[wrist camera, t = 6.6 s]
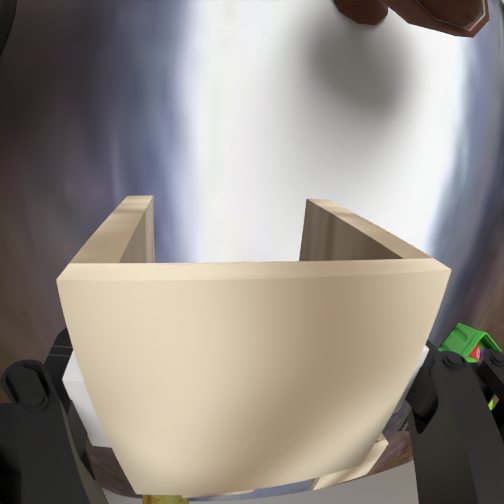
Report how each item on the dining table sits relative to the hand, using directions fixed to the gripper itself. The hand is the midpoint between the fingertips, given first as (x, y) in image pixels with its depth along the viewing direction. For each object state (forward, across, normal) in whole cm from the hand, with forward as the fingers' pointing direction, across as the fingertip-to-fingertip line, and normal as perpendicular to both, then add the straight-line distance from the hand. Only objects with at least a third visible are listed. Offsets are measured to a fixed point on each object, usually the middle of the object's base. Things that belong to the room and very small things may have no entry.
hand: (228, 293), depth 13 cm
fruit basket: (+11, +34, -17) cm, 40 cm away
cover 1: (0, 0, 0) cm, 0 cm away
